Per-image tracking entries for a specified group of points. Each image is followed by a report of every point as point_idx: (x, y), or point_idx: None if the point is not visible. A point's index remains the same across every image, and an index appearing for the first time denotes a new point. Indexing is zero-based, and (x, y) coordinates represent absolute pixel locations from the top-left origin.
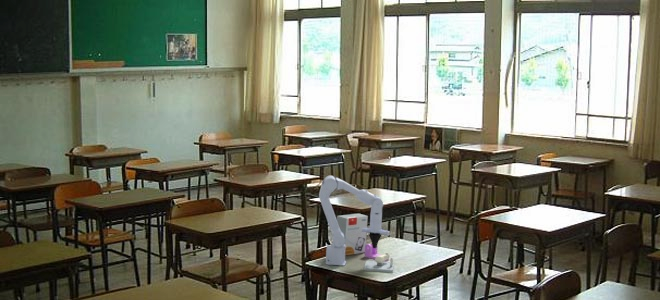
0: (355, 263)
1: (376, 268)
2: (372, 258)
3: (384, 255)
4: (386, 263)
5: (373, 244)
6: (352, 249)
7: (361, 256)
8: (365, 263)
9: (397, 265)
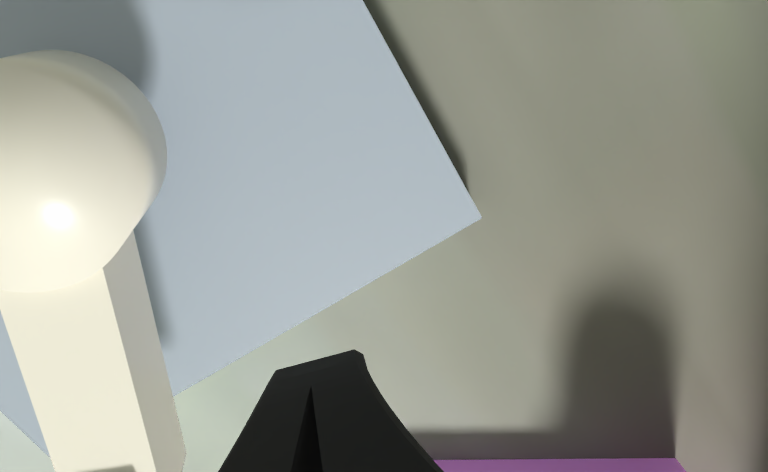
0: (602, 31)
1: None
2: (533, 460)
3: (64, 386)
4: None
5: (321, 415)
6: None
7: (709, 427)
8: (378, 31)
9: (22, 457)
